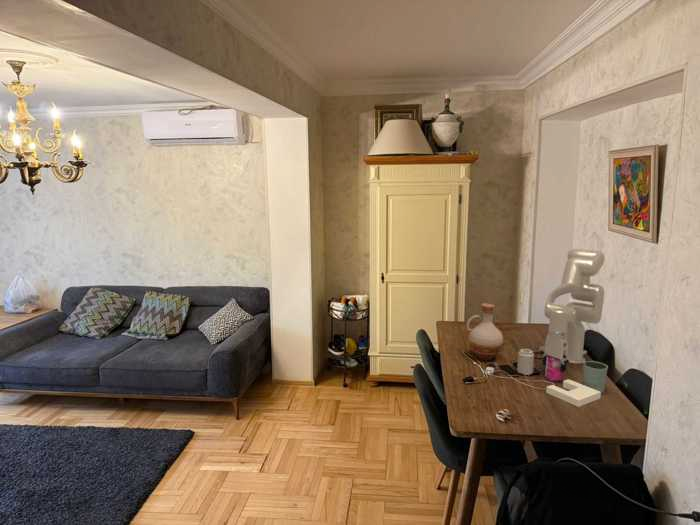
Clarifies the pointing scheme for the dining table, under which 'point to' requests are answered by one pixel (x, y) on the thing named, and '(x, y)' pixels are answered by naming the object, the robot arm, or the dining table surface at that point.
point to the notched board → (574, 393)
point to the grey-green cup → (595, 375)
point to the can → (525, 361)
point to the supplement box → (553, 369)
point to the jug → (485, 335)
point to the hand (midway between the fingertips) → (553, 368)
